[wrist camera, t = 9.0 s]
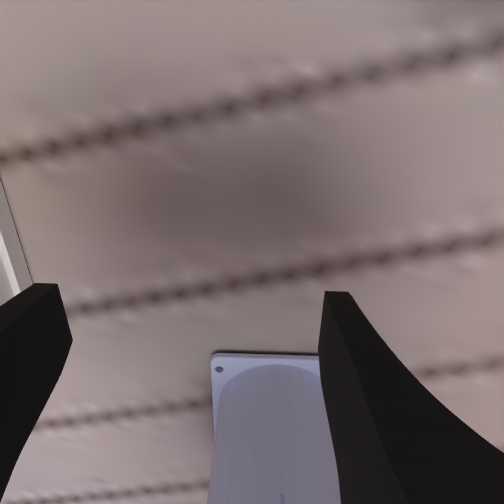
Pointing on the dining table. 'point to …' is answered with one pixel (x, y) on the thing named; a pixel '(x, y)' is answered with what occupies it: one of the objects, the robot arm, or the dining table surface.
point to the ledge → (10, 256)
